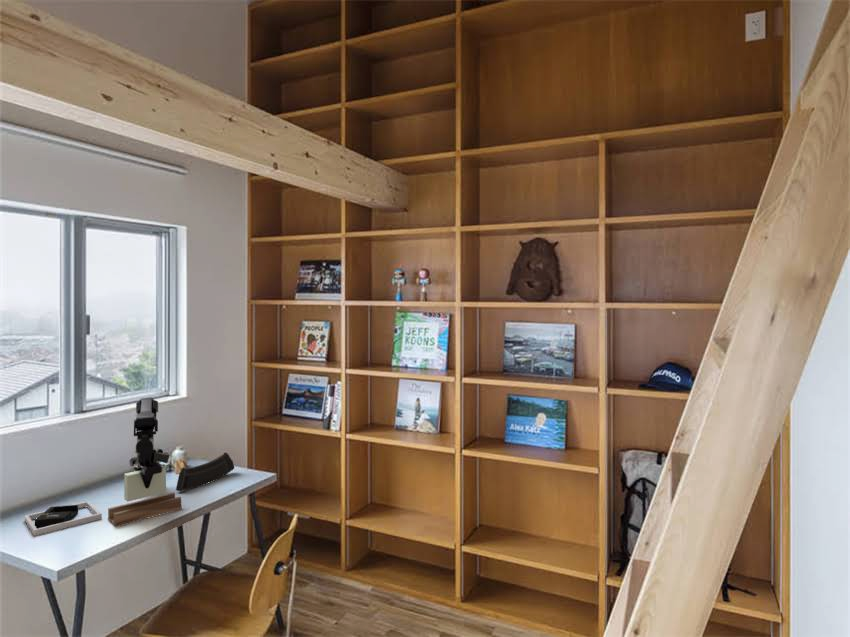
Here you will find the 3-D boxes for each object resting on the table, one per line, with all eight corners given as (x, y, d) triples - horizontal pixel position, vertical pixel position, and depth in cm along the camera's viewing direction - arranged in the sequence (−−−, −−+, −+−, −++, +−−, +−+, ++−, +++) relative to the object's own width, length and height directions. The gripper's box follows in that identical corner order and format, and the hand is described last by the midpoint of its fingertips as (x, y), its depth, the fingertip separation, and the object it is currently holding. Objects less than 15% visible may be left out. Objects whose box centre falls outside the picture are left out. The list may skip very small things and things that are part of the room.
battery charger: (64, 528, 192) (64, 517, 192) (34, 531, 190) (34, 520, 190) (78, 514, 205) (78, 504, 205) (50, 516, 203) (50, 506, 202)
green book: (124, 499, 201) (124, 473, 201) (162, 490, 211) (162, 465, 211) (127, 501, 199) (127, 475, 198) (166, 492, 209) (165, 467, 208)
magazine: (175, 475, 224) (227, 439, 250) (170, 474, 226) (222, 438, 251) (185, 508, 229) (235, 470, 255) (180, 507, 231) (230, 469, 256)
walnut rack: (107, 519, 199) (107, 508, 199) (173, 502, 217) (173, 492, 217) (115, 526, 193) (115, 514, 193) (181, 508, 210) (181, 497, 210)
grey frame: (24, 520, 198) (24, 515, 197) (88, 505, 213) (88, 500, 213) (34, 536, 185) (34, 530, 185) (101, 518, 200) (101, 513, 200)
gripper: (176, 448, 203) (176, 487, 204) (158, 439, 216) (158, 476, 217) (145, 454, 195) (145, 495, 196) (129, 444, 208) (129, 482, 209)
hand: (145, 486), depth 205 cm, fingers closed on green book, 3 cm apart
